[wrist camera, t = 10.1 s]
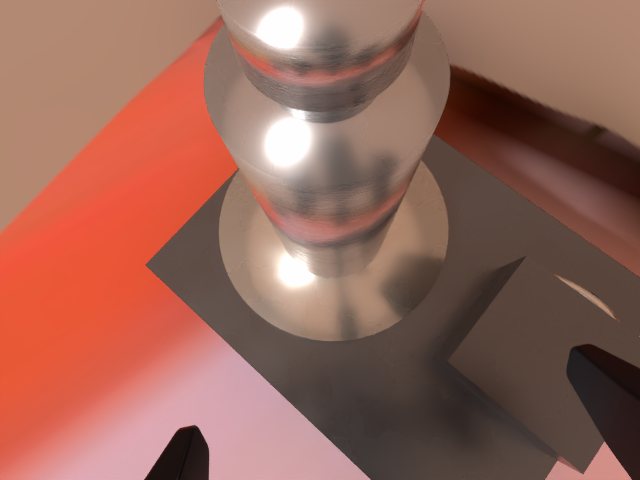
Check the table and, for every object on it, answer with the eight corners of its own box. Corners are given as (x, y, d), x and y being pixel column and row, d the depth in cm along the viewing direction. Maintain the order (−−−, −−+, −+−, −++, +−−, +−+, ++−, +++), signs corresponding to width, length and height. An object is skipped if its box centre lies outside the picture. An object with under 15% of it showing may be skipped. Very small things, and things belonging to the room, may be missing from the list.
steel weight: (404, 248, 18) (578, 7, 5) (308, 296, 18) (224, 172, 5) (354, 161, 19) (389, -214, 6) (263, 204, 19) (99, -98, 6)
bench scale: (620, 302, 21) (719, 288, 15) (455, 543, 18) (505, 627, 13) (336, 98, 25) (336, 30, 19) (170, 274, 22) (116, 253, 17)
